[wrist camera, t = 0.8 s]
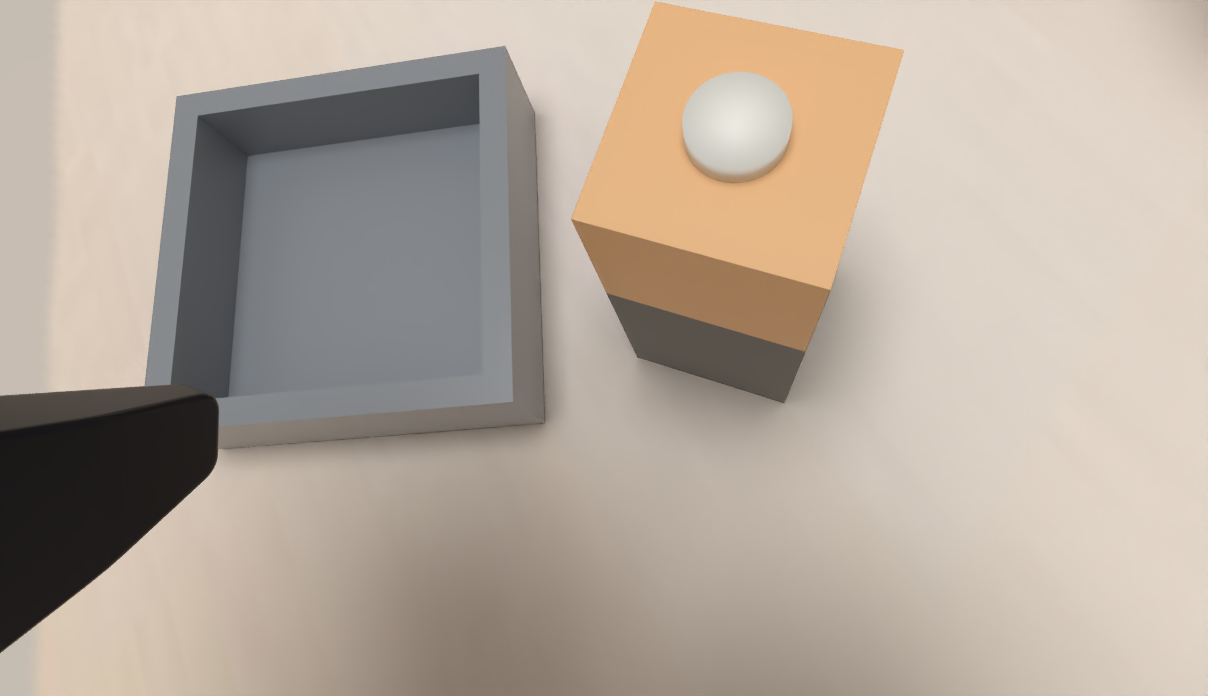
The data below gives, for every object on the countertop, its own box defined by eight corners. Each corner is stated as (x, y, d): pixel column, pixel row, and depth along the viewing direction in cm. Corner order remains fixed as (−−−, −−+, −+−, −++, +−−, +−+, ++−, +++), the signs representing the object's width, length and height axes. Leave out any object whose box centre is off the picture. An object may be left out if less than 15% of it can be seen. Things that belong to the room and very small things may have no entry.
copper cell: (783, 402, 21) (835, 279, 11) (637, 356, 22) (565, 206, 12) (828, 262, 22) (911, 30, 12) (684, 223, 23) (652, -19, 13)
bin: (545, 423, 22) (513, 402, 19) (221, 449, 24) (139, 433, 20) (534, 112, 25) (505, 45, 22) (245, 152, 27) (176, 96, 23)
